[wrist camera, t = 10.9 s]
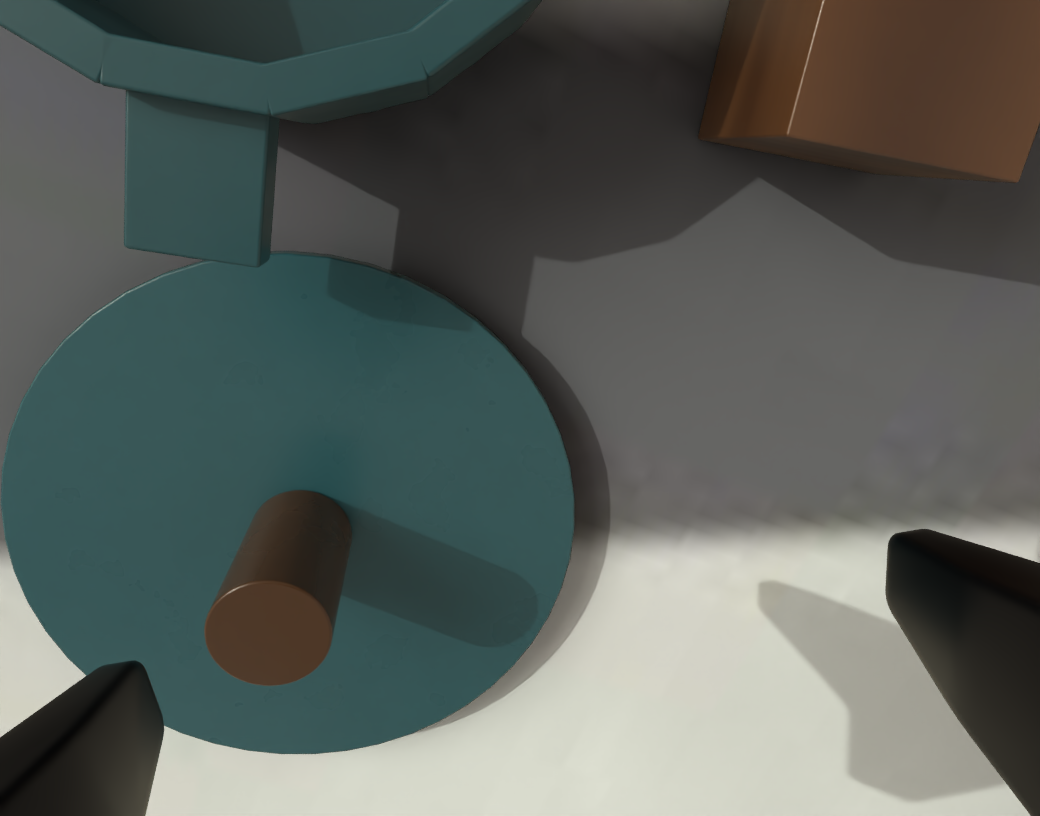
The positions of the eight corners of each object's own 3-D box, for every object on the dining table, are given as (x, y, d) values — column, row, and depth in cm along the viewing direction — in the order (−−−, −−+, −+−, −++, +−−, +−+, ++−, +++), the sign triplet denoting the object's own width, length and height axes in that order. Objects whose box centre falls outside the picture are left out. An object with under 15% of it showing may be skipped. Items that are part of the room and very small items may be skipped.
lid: (616, 295, 20) (682, 347, 15) (520, 740, 24) (545, 901, 19) (13, 200, 17) (-162, 222, 12) (29, 713, 22) (-94, 887, 17)
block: (943, -41, 18) (1125, -107, 13) (877, 175, 20) (1019, 184, 15) (749, -90, 17) (869, -178, 13) (696, 139, 19) (785, 136, 14)
